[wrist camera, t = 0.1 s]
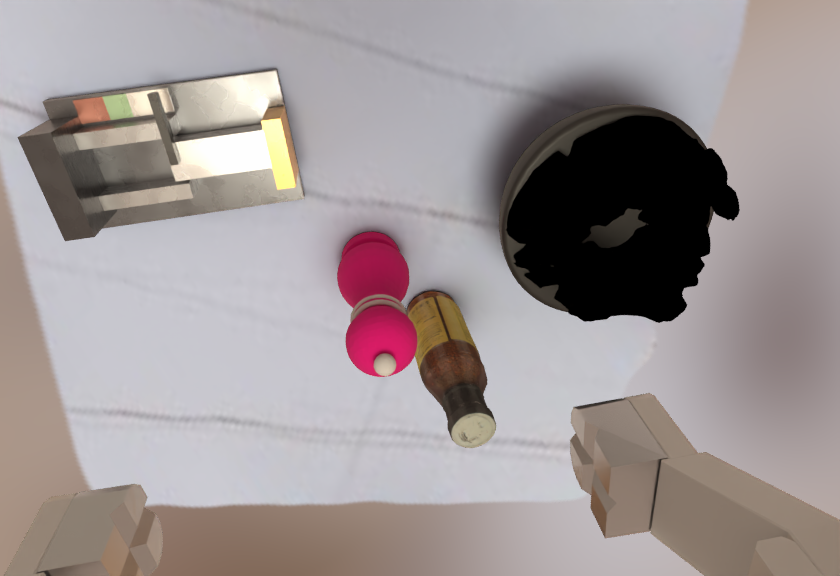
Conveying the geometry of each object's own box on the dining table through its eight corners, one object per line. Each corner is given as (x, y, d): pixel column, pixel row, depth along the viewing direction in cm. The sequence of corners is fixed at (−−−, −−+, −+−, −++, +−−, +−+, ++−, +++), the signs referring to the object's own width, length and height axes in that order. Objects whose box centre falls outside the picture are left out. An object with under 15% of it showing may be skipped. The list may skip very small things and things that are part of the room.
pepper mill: (322, 256, 61) (318, 372, 44) (373, 213, 60) (389, 315, 42) (368, 299, 64) (382, 422, 47) (418, 258, 63) (450, 370, 45)
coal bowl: (495, 288, 66) (549, 394, 50) (460, 116, 56) (512, 179, 40) (665, 240, 66) (774, 331, 49) (659, 60, 56) (794, 99, 39)
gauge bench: (47, 99, 50) (8, 117, 44) (277, 69, 52) (269, 83, 46) (100, 225, 56) (72, 256, 50) (304, 195, 58) (301, 222, 52)
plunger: (154, 87, 50) (137, 98, 46) (276, 71, 50) (272, 80, 46) (186, 186, 54) (173, 204, 50) (298, 170, 55) (295, 187, 51)
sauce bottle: (404, 335, 67) (428, 462, 50) (405, 288, 64) (431, 407, 47) (459, 332, 68) (501, 457, 51) (462, 286, 65) (509, 402, 48)
